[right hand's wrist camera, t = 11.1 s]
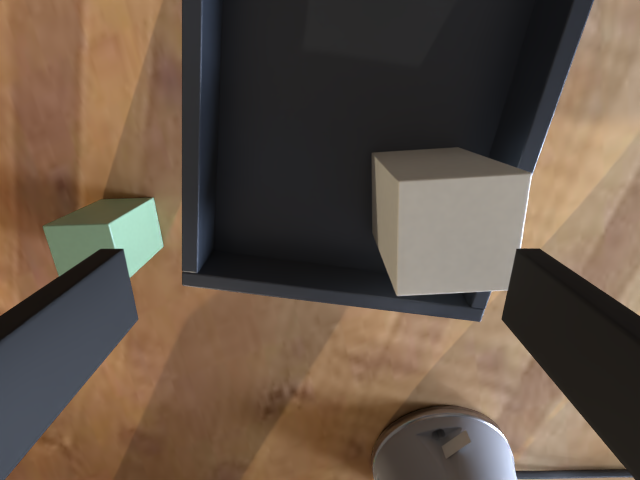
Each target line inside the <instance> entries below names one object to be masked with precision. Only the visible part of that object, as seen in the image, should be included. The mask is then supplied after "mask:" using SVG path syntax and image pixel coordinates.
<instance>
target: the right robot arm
mask: <svg viewBox="0 0 640 480" xmlns="http://www.w3.org/2000/svg"><path fill="white" fill-rule="evenodd" d="M137 320H138V315H137V310H136V306H135V301H134V296H133V291H132V287H131V282H130V277H129V272H128V268H127V263H126V258H125V253H124V249H99V250H98V251H96V252H95V253H93V254H92V255H90V256H89V257H87V258H86V259H84V260H83V261H82V262H80V263H79V264H77V265H76V266H74V267H73V268H71V269H70V270H68V271H67V272H65V273H64V274H62V275H61V276H59V277H58V278H56V279H55V280H53V281H52V282H50V283H49V284H47V285H46V286H44V287H43V288H41V289H40V290H38V291H37V292H35V293H34V294H32V295H31V296H29V297H28V298H26V299H25V300H23V301H22V302H20V303H19V304H17V305H16V306H14V307H13V308H12V309H10V310H9V311H7V312H6V313H4V314H3V315H1V316H0V480H5V479H6V477H7V476H8V475H9V474H10V473H11V471H12V470H13V469H14V468H15V467H16V465H17V464H18V463H19V462H20V461H21V459H22V458H23V457H24V456H25V455H26V453H27V452H28V451H29V450H30V449H31V447H32V446H33V445H34V444H35V443H36V441H37V440H38V439H39V438H40V437H41V435H42V434H43V433H44V432H45V431H46V430H47V428H48V427H49V426H50V425H51V424H52V422H53V421H54V420H55V419H56V418H57V416H58V415H59V414H60V413H61V412H62V410H63V409H64V408H65V407H66V406H67V404H68V403H69V402H70V401H71V400H72V398H73V397H74V396H75V395H76V394H77V392H78V391H79V390H80V389H81V388H82V386H83V385H84V384H85V383H86V382H87V380H88V379H89V378H90V377H91V376H92V374H93V373H94V372H95V371H96V370H97V368H98V367H99V366H100V365H101V364H102V362H103V361H104V360H105V359H106V358H107V356H108V355H109V354H110V353H111V352H112V350H113V349H114V348H115V347H116V346H117V344H118V343H119V342H120V341H121V340H122V338H123V337H124V336H125V335H126V334H127V332H128V331H129V330H130V329H131V328H132V326H133V325H134V324H135V323H136V322H137ZM502 320H503V322H504V323H505V324H506V325H507V326H508V328H509V329H510V330H511V331H512V332H513V334H514V335H515V336H516V337H517V338H518V340H519V341H520V342H521V343H522V344H523V346H524V347H525V348H526V349H527V350H528V352H529V353H530V354H531V355H532V356H533V358H534V359H535V360H536V361H537V362H538V364H539V365H540V366H541V367H542V368H543V370H544V371H545V372H546V373H547V374H548V376H549V377H550V378H551V379H552V380H553V382H554V383H555V384H556V385H557V386H558V388H559V389H560V390H561V391H562V392H563V394H564V395H565V396H566V397H567V398H568V400H569V401H570V402H571V403H572V404H573V406H574V407H575V408H576V409H577V410H578V412H579V413H580V414H581V415H582V416H583V418H584V419H585V420H586V421H587V422H588V424H589V425H590V426H591V427H592V428H593V430H594V431H595V432H596V433H597V434H598V436H599V437H600V438H601V439H602V440H603V442H604V443H605V444H606V445H607V446H608V447H609V449H610V450H611V451H612V452H613V453H614V455H615V456H616V457H617V458H618V459H619V461H620V462H621V463H622V464H623V465H624V467H625V468H626V469H603V470H554V471H515V464H514V458H513V454H512V452H511V449H510V446H509V444H508V442H507V440H506V438H505V436H504V435H503V433H502V431H501V430H500V428H499V427H498V426H497V424H496V423H495V422H494V421H492V420H491V419H490V418H488V417H487V416H485V415H484V414H482V413H479V412H477V411H474V410H472V409H468V408H464V407H457V406H436V407H429V408H425V409H421V410H417V411H415V412H412V413H409V414H407V415H405V416H403V417H401V418H400V419H398V420H396V421H395V422H393V423H392V424H391V425H390V426H388V427H387V428H386V429H385V430H384V431H383V432H382V434H381V435H380V436H379V438H378V439H377V441H376V443H375V445H374V448H373V451H372V457H371V462H372V470H373V476H374V480H517V479H559V478H605V477H634V479H635V480H640V316H639V315H637V314H636V313H634V312H633V311H631V310H630V309H628V308H627V307H626V306H624V305H623V304H621V303H620V302H618V301H617V300H615V299H614V298H612V297H611V296H609V295H608V294H606V293H605V292H603V291H602V290H600V289H599V288H597V287H596V286H594V285H593V284H591V283H590V282H588V281H587V280H585V279H584V278H582V277H581V276H579V275H578V274H576V273H575V272H573V271H572V270H570V269H569V268H567V267H566V266H564V265H563V264H561V263H560V262H558V261H557V260H556V259H554V258H553V257H551V256H550V255H548V254H547V253H545V252H544V251H542V250H541V249H516V253H515V258H514V263H513V267H512V272H511V277H510V282H509V287H508V291H507V296H506V301H505V306H504V310H503V315H502Z"/></svg>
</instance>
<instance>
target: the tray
mask: <svg viewBox="0 0 640 480" xmlns="http://www.w3.org/2000/svg"><path fill="white" fill-rule="evenodd" d="M593 1H594V0H182V271H183V272H182V285H183V286H190V287H199V288H207V289H215V290H223V291H231V292H240V293H248V294H256V295H264V296H273V297H281V298H289V299H297V300H305V301H314V302H322V303H330V304H338V305H347V306H355V307H363V308H371V309H379V310H388V311H396V312H404V313H412V314H421V315H429V316H437V317H445V318H453V319H462V320H470V321H478V322H480V321H481V319H482V316H483V313H484V309H485V308H486V305H487V302H488V300H489V297H490V294H491V291H484V292H465V293H446V294H426V295H407V296H397V295H396V293H395V290H394V288H393V285H392V283H391V280H390V278H389V275H388V272H387V270H386V267H385V265H384V262H383V259H382V257H381V254H380V252H379V249H378V246H377V244H376V241H375V239H374V236H373V233H372V153H373V152H390V151H406V150H422V149H438V148H454V147H459V148H462V149H464V150H467V151H470V152H473V153H476V154H479V155H482V156H485V157H487V158H490V159H493V160H496V161H499V162H502V163H505V164H507V165H510V166H513V167H516V168H519V169H522V170H525V171H528V172H530V173H532V175H533V172H534V169H535V166H536V163H537V160H538V158H539V155H540V152H541V149H542V146H543V143H544V140H545V138H546V135H547V132H548V129H549V126H550V123H551V121H552V118H553V115H554V112H555V109H556V106H557V104H558V101H559V98H560V95H561V92H562V89H563V87H564V84H565V81H566V78H567V75H568V72H569V70H570V67H571V64H572V61H573V58H574V55H575V52H576V50H577V47H578V44H579V41H580V38H581V35H582V33H583V30H584V27H585V24H586V21H587V18H588V16H589V13H590V10H591V7H592V4H593ZM531 177H532V176H531Z"/></svg>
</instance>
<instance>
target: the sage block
mask: <svg viewBox="0 0 640 480" xmlns="http://www.w3.org/2000/svg"><path fill="white" fill-rule="evenodd" d="M43 229H44V232H45V236H46V239H47V242H48V245H49V248H50V251H51V254H52V257H53V260H54V263H55V266H56V269H57V272H58V275H59V276H61V275H62V274H64V273H65V272H67V271H68V270H70V269H71V268H73V267H74V266H76V265H77V264H79V263H80V262H82V261H83V260H84V259H86V258H87V257H89V256H90V255H92V254H93V253H95V252H96V251H98V250H99V249H124V253H125V258H126V263H127V268H128V272H129V277H131V276H132V275H134V274H135V273H136V272H137V271H138V270H139V269H140V268H141V267H142V266H143V265H144V264H145V263H146V262H147V261H148V260H150V259H151V258H152V257H153V256H154V255H155V254H156V253H157V252H158V251H159V250H160V249H161V248H162V247H163V241H162V236H161V232H160V227H159V222H158V217H157V212H156V207H155V202H154V198H124V199H101V200H99V201H97V202H94V203H92V204H90V205H88V206H86V207H83V208H81V209H79V210H77V211H74V212H72V213H70V214H68V215H66V216H63V217H61V218H59V219H57V220H55V221H52V222H50V223H48V224H46V225H44V226H43Z"/></svg>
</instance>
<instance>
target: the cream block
mask: <svg viewBox="0 0 640 480" xmlns="http://www.w3.org/2000/svg"><path fill="white" fill-rule="evenodd" d="M531 176H532V173H530V172H528V171H525V170H522V169H519V168H516V167H513V166H510V165H507V164H505V163H502V162H499V161H496V160H493V159H490V158H487V157H485V156H482V155H479V154H476V153H473V152H470V151H467V150H464V149H462V148H459V147H454V148H438V149H422V150H406V151H390V152H373V153H372V233H373V236H374V239H375V241H376V244H377V246H378V249H379V252H380V254H381V257H382V259H383V262H384V265H385V267H386V270H387V272H388V275H389V278H390V280H391V283H392V285H393V288H394V290H395V293H396V295H397V296H407V295H426V294H446V293H465V292H484V291H503V290H508V287H509V282H510V277H511V272H512V267H513V263H514V258H515V253H516V249H521V242H522V235H523V229H524V222H525V216H526V209H527V202H528V196H529V189H530V182H531Z"/></svg>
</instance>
